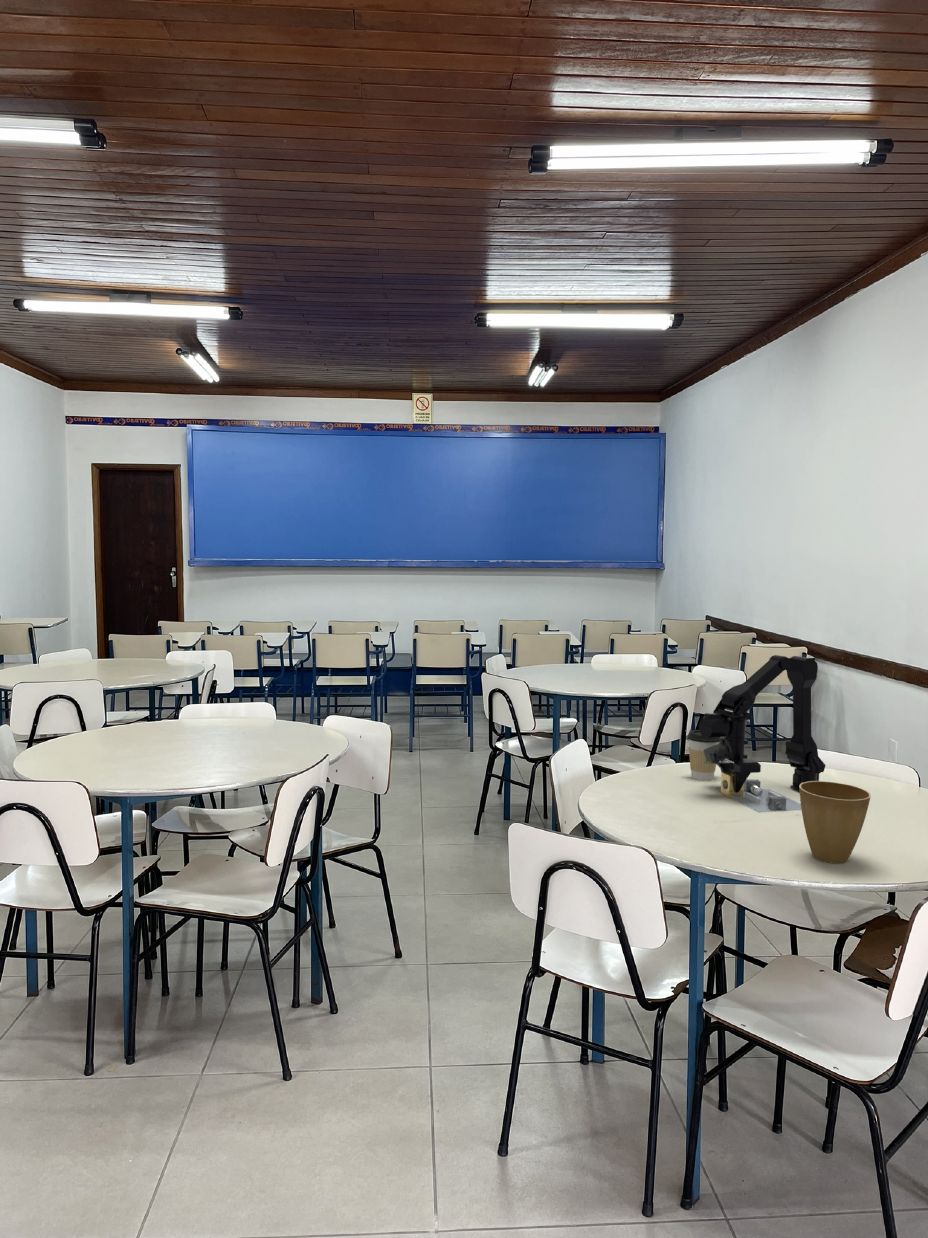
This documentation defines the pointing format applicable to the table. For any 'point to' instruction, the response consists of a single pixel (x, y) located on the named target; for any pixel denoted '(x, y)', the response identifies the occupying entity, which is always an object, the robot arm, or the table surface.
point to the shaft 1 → (753, 787)
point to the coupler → (729, 785)
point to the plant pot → (833, 818)
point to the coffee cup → (701, 755)
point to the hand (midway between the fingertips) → (732, 790)
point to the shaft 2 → (776, 803)
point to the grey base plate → (760, 801)
